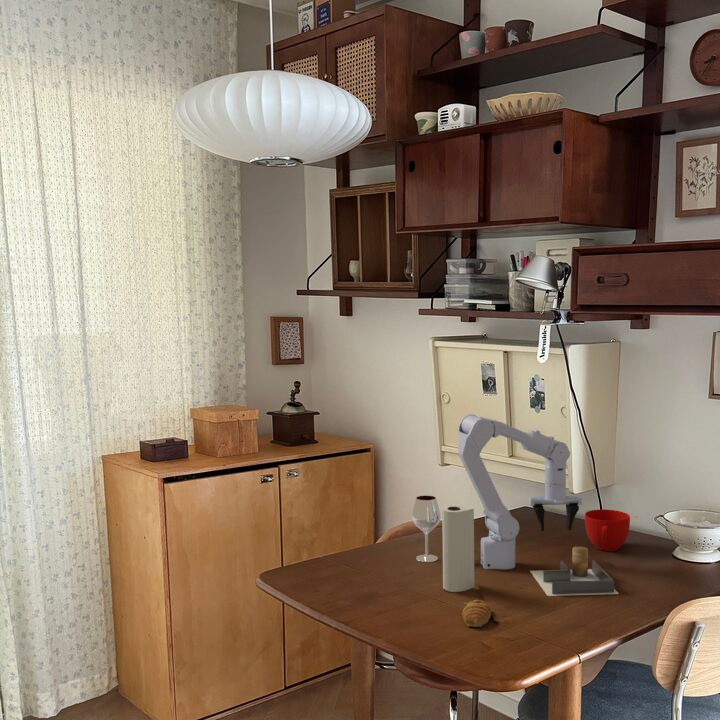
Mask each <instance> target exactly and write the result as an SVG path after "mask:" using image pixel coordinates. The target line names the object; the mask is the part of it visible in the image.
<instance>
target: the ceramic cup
mask: <svg viewBox="0 0 720 720" xmlns="http://www.w3.org/2000/svg"><path fill="white" fill-rule="evenodd" d="M630 523H631V516H630V515H629V513H626V512H624V511H619V510H615V509H604V508H603V509H601V508H600V509H592V510H588V511H586V512H585V513H584V525H585V531H586V534H587V536H588V539H589V541H590V542H591V543H592V545H593V546H594V547H595V549H597V550H600V551H603V550H604V551H605V552H615V551H617V550H619V549H620V548H621V547H622V545H624V543H625V542H626V540H627V538H628V536H629V531H630V525H631V524H630Z"/></svg>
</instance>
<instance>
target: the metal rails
mask: <svg viewBox="0 0 720 720" xmlns="http://www.w3.org/2000/svg"><path fill="white" fill-rule="evenodd" d="M559 563H560V565H559V569H547V570H546V569H545V570H542V571H543V582H552V594H581V593H614V589H615V580H614V579H613V578H612V577H611V576H610V575H609V574H608V573H607V572H606V571H605V570H604V569H603V568H602V567H601V565H599V564H598V562H597V561H596V560H594V559H592V560H591V569H592V572H593V573H594V574H595V575H596V576H597V577H598V578H599V579H600V580H599V581H570V570H571V569H570V568H569V566H567V564H566V563H565V561H563V560H560V562H559Z"/></svg>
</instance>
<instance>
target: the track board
mask: <svg viewBox="0 0 720 720" xmlns="http://www.w3.org/2000/svg"><path fill="white" fill-rule="evenodd" d="M529 572H530V574H531V575H532V576H533V578H534V579H535V581H536V583H538V585H539V586H540V587H541V589H542V590H543V592H544V593H545V594H546V596H548V597H559V596H561V597H562V596H594V595H595V596H596V595H597V596H599V595H619V594H620V593H619V592H618V591H617V589H615V588H614V593H581V594H552V582H543V570H529ZM599 580H600V579H599V578H598V577H597V576H596V575H595V574H594V573H593V572H592V568H588V575H587V576H586V577H577V576H574V575H572V569H570V581H599Z"/></svg>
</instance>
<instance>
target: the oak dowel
mask: <svg viewBox="0 0 720 720" xmlns="http://www.w3.org/2000/svg"><path fill="white" fill-rule="evenodd" d="M571 554H572V560H571V561H572V562H571V564H572V565H571V570H572V575H574V576H577V577H586V576H587V575H588V569H589V563H588V562H589V561H588V560H589V548H587V547H584V546H573V547H572V553H571Z"/></svg>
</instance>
